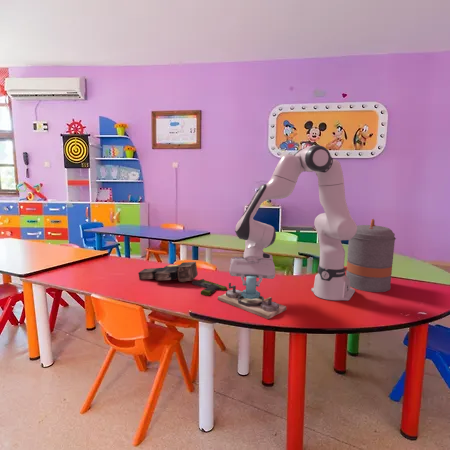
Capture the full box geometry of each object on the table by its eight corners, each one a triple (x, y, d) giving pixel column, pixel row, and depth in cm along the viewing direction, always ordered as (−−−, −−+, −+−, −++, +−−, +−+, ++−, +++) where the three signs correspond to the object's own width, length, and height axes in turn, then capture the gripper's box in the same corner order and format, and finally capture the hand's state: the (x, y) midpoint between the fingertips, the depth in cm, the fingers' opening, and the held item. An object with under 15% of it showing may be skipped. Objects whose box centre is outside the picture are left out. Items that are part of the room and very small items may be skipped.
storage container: (349, 275, 186) (353, 215, 181) (392, 282, 175) (398, 218, 169) (340, 286, 167) (345, 219, 162) (389, 295, 156) (396, 223, 150)
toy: (137, 287, 170) (190, 284, 163) (134, 271, 169) (188, 267, 162) (150, 278, 186) (200, 275, 179) (148, 263, 185) (197, 259, 178)
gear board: (236, 292, 156) (237, 276, 155) (286, 309, 137) (287, 291, 136) (217, 299, 147) (218, 282, 146) (268, 319, 128) (268, 299, 126)
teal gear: (249, 291, 147) (250, 273, 146) (263, 295, 141) (264, 277, 140) (237, 295, 141) (238, 276, 140) (252, 300, 136) (252, 281, 134)
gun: (180, 288, 162) (202, 282, 174) (208, 297, 150) (229, 290, 161) (180, 283, 162) (202, 277, 173) (208, 292, 150) (229, 285, 161)
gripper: (230, 253, 147) (226, 280, 139) (275, 255, 144) (274, 283, 136) (231, 260, 152) (227, 287, 144) (275, 262, 149) (274, 290, 141)
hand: (251, 285), depth 140 cm, fingers closed on teal gear, 4 cm apart
